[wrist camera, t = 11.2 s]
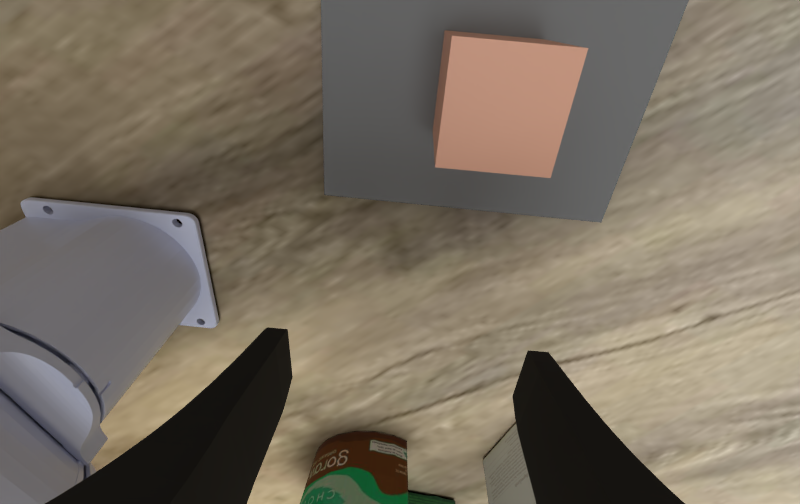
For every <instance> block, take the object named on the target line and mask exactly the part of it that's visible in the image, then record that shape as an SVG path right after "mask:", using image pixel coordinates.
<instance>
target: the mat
mask: <svg viewBox="0 0 800 504" xmlns="http://www.w3.org/2000/svg"><path fill="white" fill-rule="evenodd" d="M688 1H689V0H321V33H322V88H323V144H324V195H331V196H341V197H351V198H361V199H371V200H381V201H391V202H401V203H411V204H421V205H431V206H441V207H451V208H461V209H471V210H481V211H491V212H501V213H511V214H521V215H531V216H541V217H551V218H561V219H571V220H581V221H591V222H602V219H603V217H604V214H605V212H606V209H607V207H608V204H609V201H610V199H611V196H612V194H613V191H614V189H615V186H616V184H617V181H618V179H619V176H620V173H621V171H622V168H623V166H624V163H625V161H626V158H627V156H628V153H629V151H630V148H631V146H632V143H633V140H634V138H635V135H636V133H637V130H638V128H639V125H640V123H641V120H642V118H643V115H644V112H645V110H646V107H647V105H648V102H649V100H650V97H651V95H652V92H653V90H654V87H655V85H656V82H657V79H658V77H659V74H660V72H661V69H662V67H663V64H664V62H665V59H666V57H667V54H668V51H669V49H670V46H671V44H672V41H673V39H674V36H675V34H676V31H677V29H678V26H679V24H680V21H681V18H682V16H683V13H684V11H685V8H686V6H687V3H688ZM445 30H447V31H458V32H469V33H480V34H491V35H502V36H513V37H524V38H535V39H545V40H550V41H555V42H560V43H565V44H570V45H575V46H580V47H585V48H588V51H587V55H586V58H585V62H584V65H583V68H582V72H581V75H580V79H579V82H578V86H577V89H576V92H575V96H574V99H573V103H572V106H571V110H570V113H569V116H568V120H567V123H566V127H565V130H564V134H563V137H562V140H561V144H560V147H559V151H558V154H557V158H556V161H555V164H554V168H553V171H552V175H551V178H544V177H533V176H522V175H511V174H501V173H490V172H479V171H469V170H458V169H447V168H437V167H435V159H434V144H433V124H434V115H435V107H436V98H437V90H438V82H439V73H440V65H441V57H442V48H443V40H444V31H445Z"/></svg>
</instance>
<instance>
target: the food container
mask: <svg viewBox="0 0 800 504" xmlns="http://www.w3.org/2000/svg"><path fill="white" fill-rule="evenodd" d="M300 504H408V473H407V441H405V440H403V439H401V438H398V437H396V436H393V435H389V434H384V433H380V432H373V431H354V432H348V433H343V434H338V435H336V436H334V437H332V438H330V439H328V440H326V441H325V442H324V443H323V444H322V445H321V446H320V447H319V449H318V451H317V453H316V456H315V459H314V462H313V465H312V468H311V471H310V474H309V477H308V480H307V483H306V487H305V490H304V493H303V496H302V499H301V502H300Z"/></svg>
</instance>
